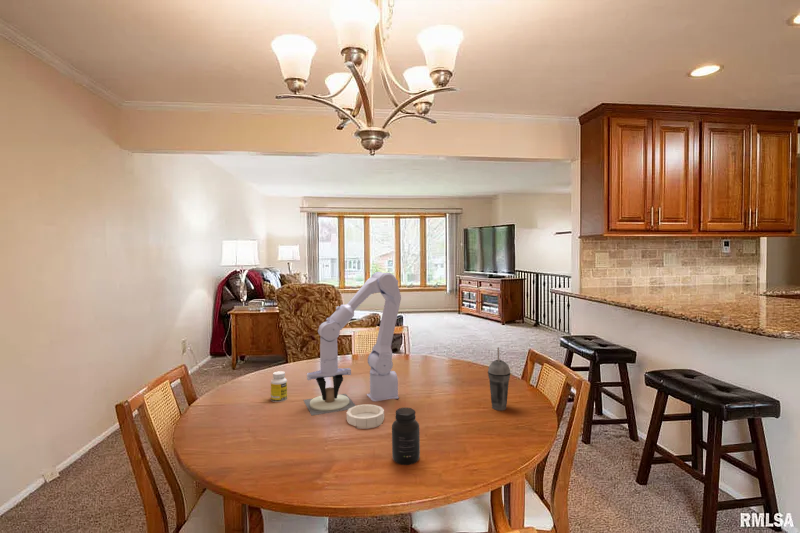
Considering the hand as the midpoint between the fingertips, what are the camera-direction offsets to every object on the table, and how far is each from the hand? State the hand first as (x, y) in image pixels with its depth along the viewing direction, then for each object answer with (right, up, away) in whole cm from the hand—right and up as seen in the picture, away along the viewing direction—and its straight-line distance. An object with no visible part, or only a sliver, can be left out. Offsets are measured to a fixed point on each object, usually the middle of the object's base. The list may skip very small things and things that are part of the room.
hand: (329, 398), depth 137 cm
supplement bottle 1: (-18, -3, +5) cm, 19 cm away
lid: (0, -2, 0) cm, 2 cm away
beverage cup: (+56, -2, -4) cm, 56 cm away
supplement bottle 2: (+25, -4, -36) cm, 44 cm away
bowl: (+13, -3, -13) cm, 19 cm away
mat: (0, -2, 0) cm, 2 cm away
